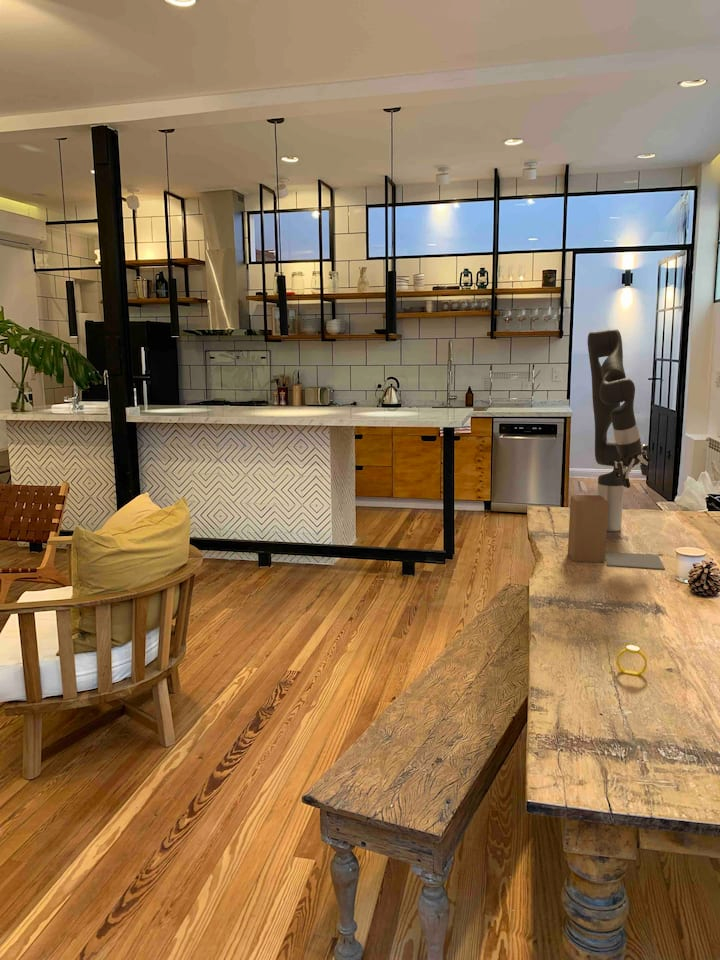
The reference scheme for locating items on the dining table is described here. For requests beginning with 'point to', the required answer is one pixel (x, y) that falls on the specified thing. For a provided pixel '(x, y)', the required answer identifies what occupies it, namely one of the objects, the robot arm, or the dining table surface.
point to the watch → (632, 650)
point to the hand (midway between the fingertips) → (636, 481)
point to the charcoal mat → (633, 560)
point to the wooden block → (587, 528)
